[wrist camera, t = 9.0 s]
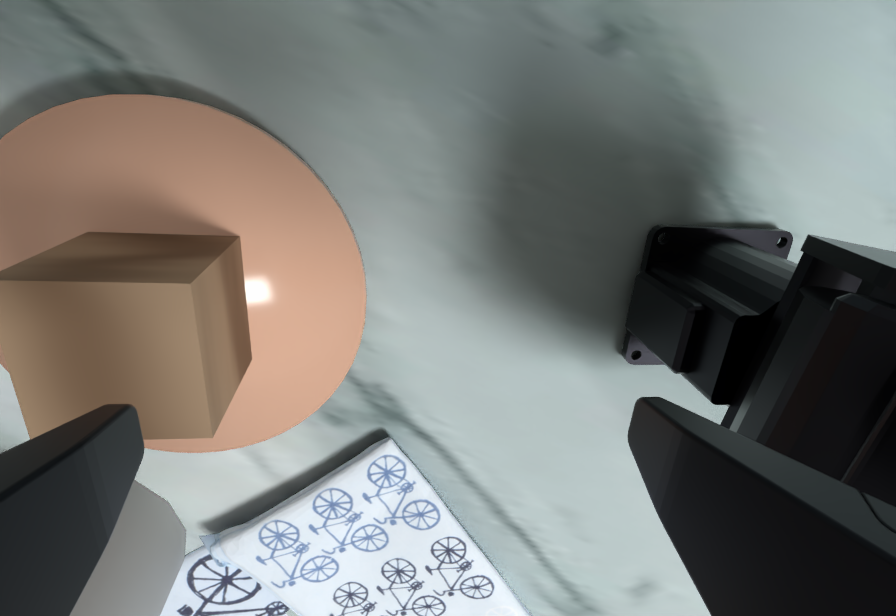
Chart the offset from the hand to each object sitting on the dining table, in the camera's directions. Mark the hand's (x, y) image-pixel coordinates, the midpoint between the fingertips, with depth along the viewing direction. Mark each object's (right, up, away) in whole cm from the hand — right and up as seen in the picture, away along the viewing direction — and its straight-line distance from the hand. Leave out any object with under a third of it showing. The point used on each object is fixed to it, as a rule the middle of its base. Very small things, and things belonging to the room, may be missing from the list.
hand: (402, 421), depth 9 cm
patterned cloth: (-6, -15, +20) cm, 26 cm away
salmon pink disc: (-9, +3, +11) cm, 15 cm away
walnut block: (-9, +2, +9) cm, 13 cm away
